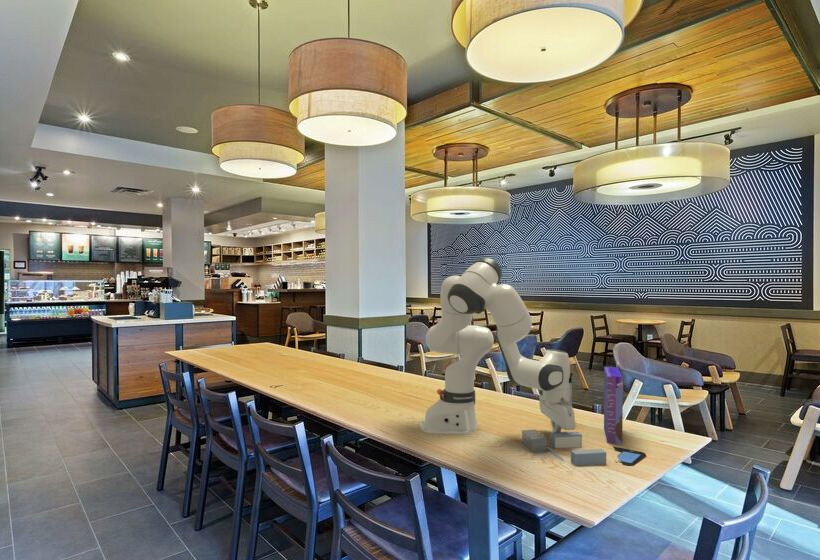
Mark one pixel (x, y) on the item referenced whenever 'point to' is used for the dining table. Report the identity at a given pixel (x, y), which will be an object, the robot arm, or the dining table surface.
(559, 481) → the dining table surface
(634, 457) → the game console
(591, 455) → the vise
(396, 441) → the dining table surface
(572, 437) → the block
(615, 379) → the cereal box
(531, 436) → the steel block
